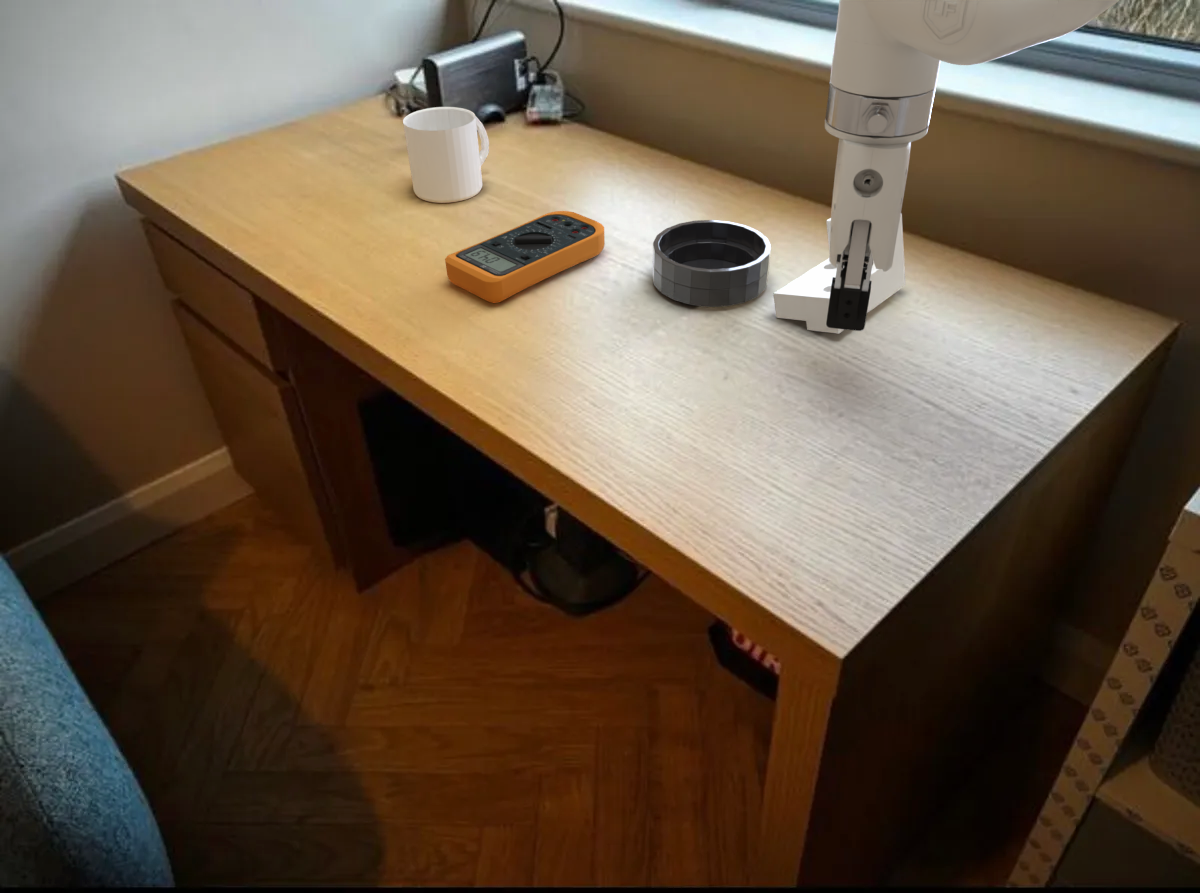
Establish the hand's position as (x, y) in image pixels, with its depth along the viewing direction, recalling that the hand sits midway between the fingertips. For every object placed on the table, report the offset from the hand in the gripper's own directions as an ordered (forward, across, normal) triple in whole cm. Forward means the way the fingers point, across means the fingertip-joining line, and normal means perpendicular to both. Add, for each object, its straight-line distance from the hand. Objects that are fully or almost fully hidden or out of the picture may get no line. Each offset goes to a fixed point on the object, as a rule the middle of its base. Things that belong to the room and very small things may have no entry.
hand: (845, 324), depth 78 cm
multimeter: (+6, +15, +34) cm, 38 cm away
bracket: (+6, +15, +1) cm, 16 cm away
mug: (+5, +35, +52) cm, 63 cm away
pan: (+6, +16, +14) cm, 22 cm away
